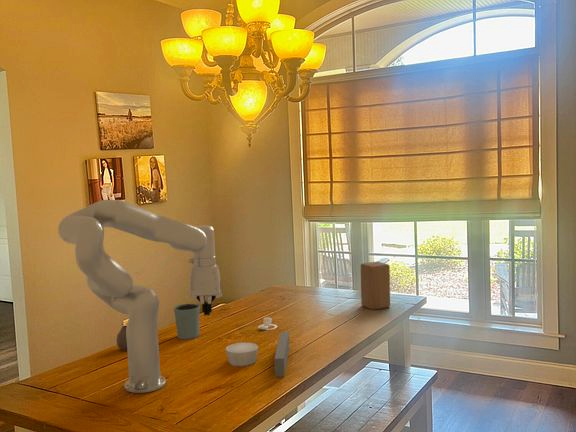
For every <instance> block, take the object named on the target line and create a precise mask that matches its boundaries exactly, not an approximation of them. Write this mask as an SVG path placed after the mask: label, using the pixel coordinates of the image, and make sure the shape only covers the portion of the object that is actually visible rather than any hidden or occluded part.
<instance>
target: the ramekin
mask: <svg viewBox="0 0 576 432" xmlns="http://www.w3.org/2000/svg"><path fill="white" fill-rule="evenodd" d="M258 351H259V346H258V344H256V343H254V342H244V341H243V342H237V343H232V344H229V345H228V346H226V348H225V354H226V356H227V361H228V363H229V364H230V365H231V366H234V367H248V366H251V365H253V364H255V363H256V361H257V358H258Z"/></svg>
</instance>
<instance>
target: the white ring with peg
mask: <svg viewBox="0 0 576 432" xmlns="http://www.w3.org/2000/svg"><path fill="white" fill-rule="evenodd" d="M271 326H274V327H273V328H272V327H271ZM257 327H258V329H259V330H261V331H262V330H263V331H270V330H275V329H277V328H278V325H277V324H273V322H272V318H271V317H269V316H267V317H264V318H263V324H260V325H259V326H257Z"/></svg>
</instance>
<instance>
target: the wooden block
mask: <svg viewBox="0 0 576 432" xmlns="http://www.w3.org/2000/svg"><path fill="white" fill-rule="evenodd" d="M390 270H391V269H390V264H388V263H385V262H380V261H371V262H363V263H360V296H361V297H360V300H361V301H360V302H361V306H363V307H364V308H367V309H369V310H372V311H374V310H380V309H381V310H382V309H387V308H390V306H391V282H390V281H391V280H390V279H391V276H390V275H391V274H390V272H391V271H390Z"/></svg>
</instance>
